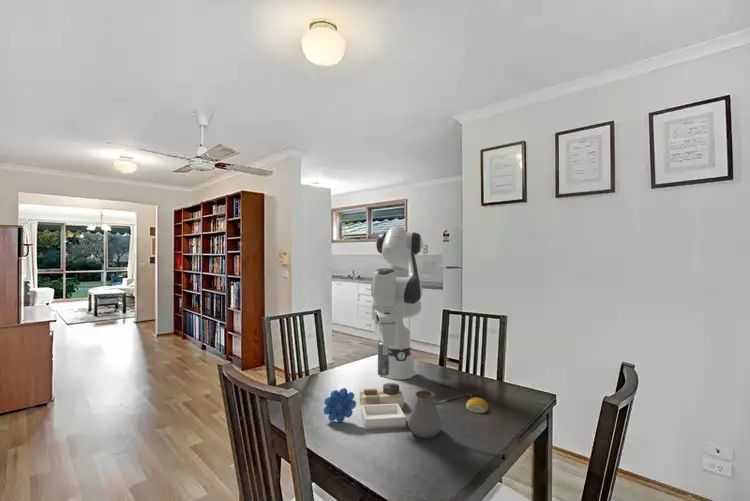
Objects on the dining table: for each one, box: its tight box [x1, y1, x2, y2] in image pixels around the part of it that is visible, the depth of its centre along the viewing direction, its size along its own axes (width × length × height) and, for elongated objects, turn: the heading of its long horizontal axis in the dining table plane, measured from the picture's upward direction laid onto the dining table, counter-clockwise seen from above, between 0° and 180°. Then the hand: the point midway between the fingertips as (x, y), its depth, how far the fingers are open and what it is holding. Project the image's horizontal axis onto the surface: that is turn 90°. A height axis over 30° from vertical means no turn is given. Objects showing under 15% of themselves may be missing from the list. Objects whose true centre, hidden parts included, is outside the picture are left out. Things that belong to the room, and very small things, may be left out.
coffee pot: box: [407, 390, 474, 439], centre depth 123 cm, size 21×12×15 cm, turn 72°
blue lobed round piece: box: [323, 387, 357, 423], centre depth 133 cm, size 12×7×12 cm, turn 86°
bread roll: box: [465, 397, 489, 414], centre depth 145 cm, size 8×9×4 cm
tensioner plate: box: [359, 382, 405, 410], centre depth 147 cm, size 9×16×8 cm, turn 99°
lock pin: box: [377, 341, 389, 377], centre depth 133 cm, size 4×4×11 cm
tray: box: [360, 404, 407, 431], centre depth 133 cm, size 12×14×4 cm
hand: (383, 352), depth 133 cm, fingers closed on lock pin, 4 cm apart
